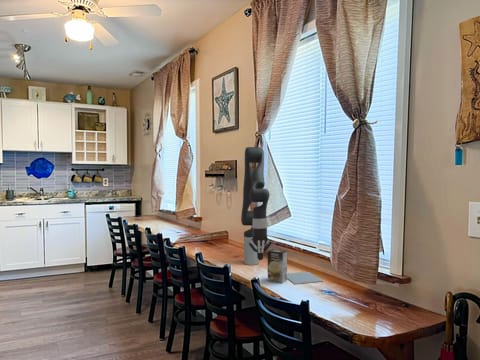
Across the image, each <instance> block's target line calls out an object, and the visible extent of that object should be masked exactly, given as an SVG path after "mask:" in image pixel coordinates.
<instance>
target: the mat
mask: <svg viewBox="0 0 480 360" xmlns="http://www.w3.org/2000/svg"><path fill="white" fill-rule="evenodd" d="M287 281H288V282H289V281H290V282H291V283H292V285H293V284H294V285H301V284H302V285H304V284H313V283H322V282H324V280H322V279H321V278H319V277H317V275H314V274H313V273H311V272H309V271H302V272H301V271H300V272H292V273H291V272H289V273H288V272H287Z"/></svg>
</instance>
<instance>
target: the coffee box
mask: <svg viewBox="0 0 480 360" xmlns="http://www.w3.org/2000/svg"><path fill="white" fill-rule="evenodd" d="M287 274H288V250H285V249H277V248H271V249H268V250H267V281H269V282H275V283H279V282H280V284H283V282H284V283H285V282H286V281H288V279H287Z"/></svg>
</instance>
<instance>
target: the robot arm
mask: <svg viewBox="0 0 480 360" xmlns="http://www.w3.org/2000/svg"><path fill="white" fill-rule="evenodd" d="M251 163H252V164H257V166H256V167H255V168H254V169H252V168H251ZM264 170H265V151H264V149H263V147H259V146H247V147H246V148H245V150H244V177H243V186H242V189H243V192H242V206H241V208H242V209H241V215H240V221H241V225H242V226H244V227H245V226H246V227H247V226H252V227H250V229H247V230H245V231H244V232H243V258H244V259H243V260H244V261H243V263H244V265H247V266H255V265H259V263H260V261H262V260H263V259H264V253H265V252H268V251H269V248H270V246H271V245H272V244H273V242H272V241H271V240H270V239H269V238H268V222H267V208H268V203H269V199H270V196H271V195H270V194H271V193H270V191H269V190H268V188H265V183H266V181H265V173H264ZM252 203H262V204H260V205H258V206H255V207H253V208H252V210H249V208H250V206H251V204H252Z"/></svg>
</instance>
